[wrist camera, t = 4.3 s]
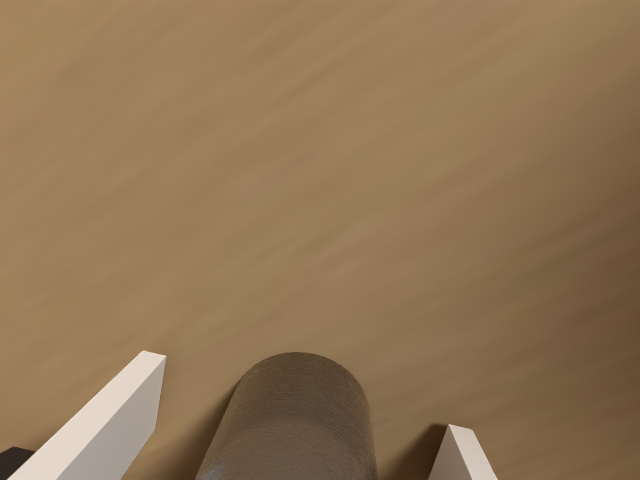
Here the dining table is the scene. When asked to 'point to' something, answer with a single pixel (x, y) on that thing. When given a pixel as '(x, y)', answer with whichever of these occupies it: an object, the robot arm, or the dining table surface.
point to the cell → (294, 425)
